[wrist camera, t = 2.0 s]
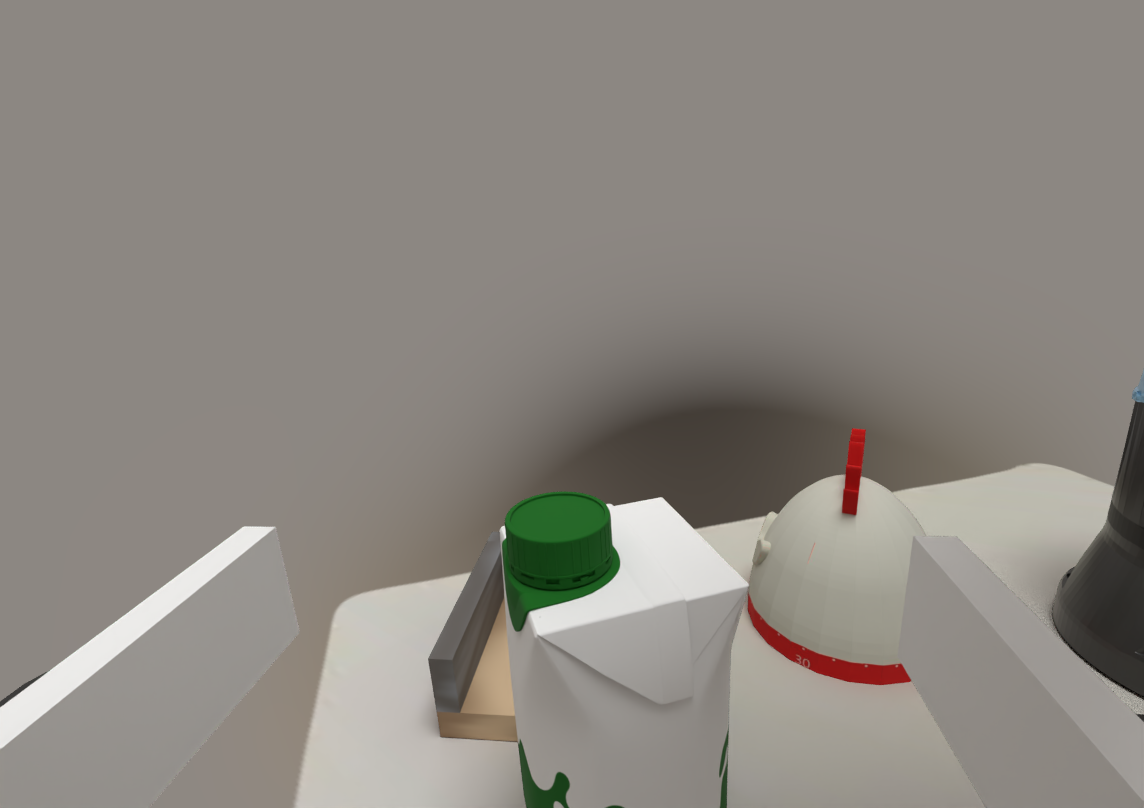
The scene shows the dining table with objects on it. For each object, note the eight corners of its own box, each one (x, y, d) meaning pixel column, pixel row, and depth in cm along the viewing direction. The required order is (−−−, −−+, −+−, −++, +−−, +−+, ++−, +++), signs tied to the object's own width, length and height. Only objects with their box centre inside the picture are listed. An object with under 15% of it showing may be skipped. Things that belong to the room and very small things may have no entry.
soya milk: (519, 817, 31) (480, 479, 25) (673, 769, 33) (669, 447, 27) (561, 1024, 23) (516, 594, 17) (760, 941, 25) (783, 536, 19)
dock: (683, 596, 48) (682, 533, 46) (698, 752, 34) (699, 670, 32) (498, 592, 50) (491, 531, 49) (440, 736, 36) (428, 658, 34)
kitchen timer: (939, 590, 47) (965, 418, 43) (954, 712, 36) (991, 495, 31) (765, 554, 54) (771, 402, 49) (729, 648, 42) (734, 460, 38)
